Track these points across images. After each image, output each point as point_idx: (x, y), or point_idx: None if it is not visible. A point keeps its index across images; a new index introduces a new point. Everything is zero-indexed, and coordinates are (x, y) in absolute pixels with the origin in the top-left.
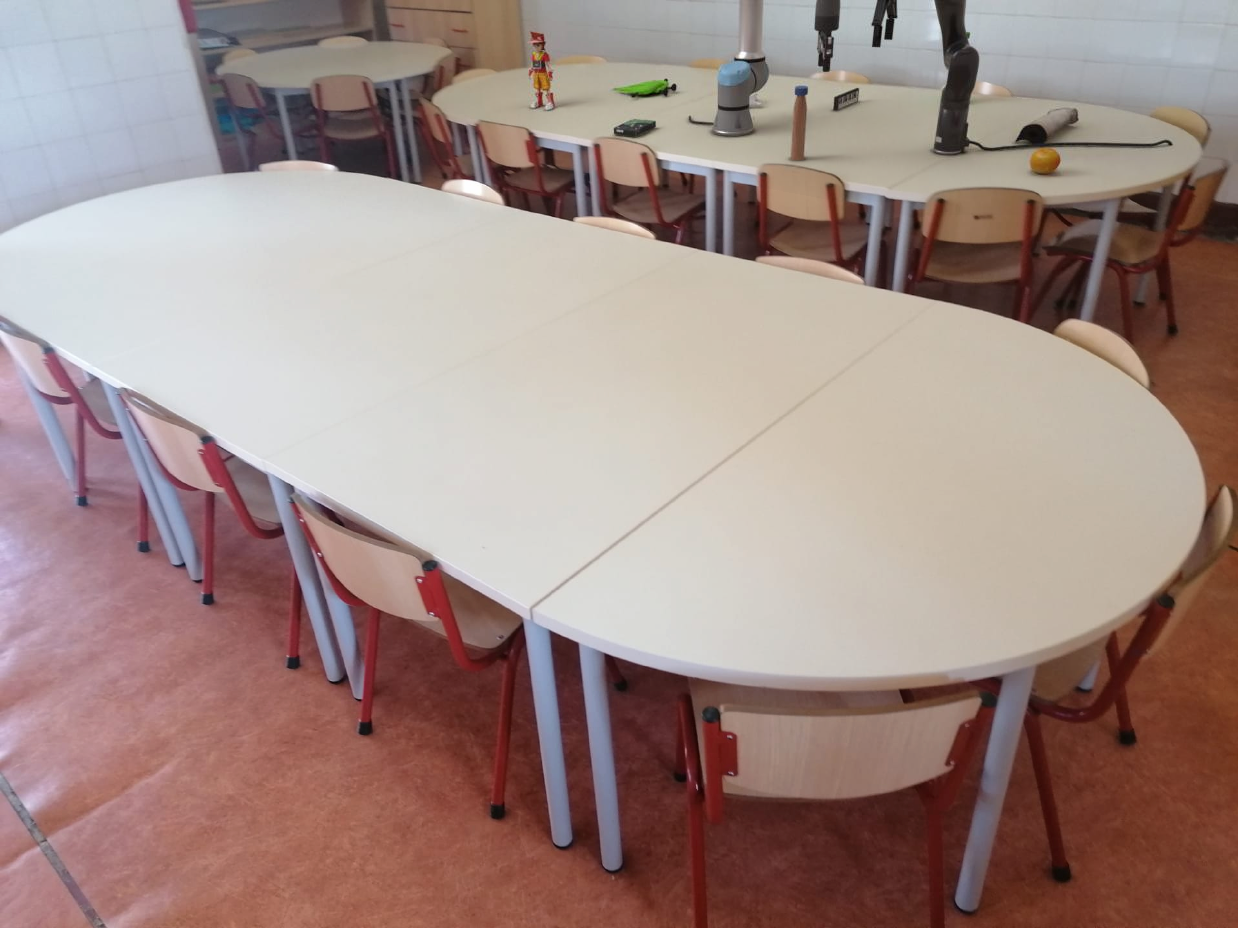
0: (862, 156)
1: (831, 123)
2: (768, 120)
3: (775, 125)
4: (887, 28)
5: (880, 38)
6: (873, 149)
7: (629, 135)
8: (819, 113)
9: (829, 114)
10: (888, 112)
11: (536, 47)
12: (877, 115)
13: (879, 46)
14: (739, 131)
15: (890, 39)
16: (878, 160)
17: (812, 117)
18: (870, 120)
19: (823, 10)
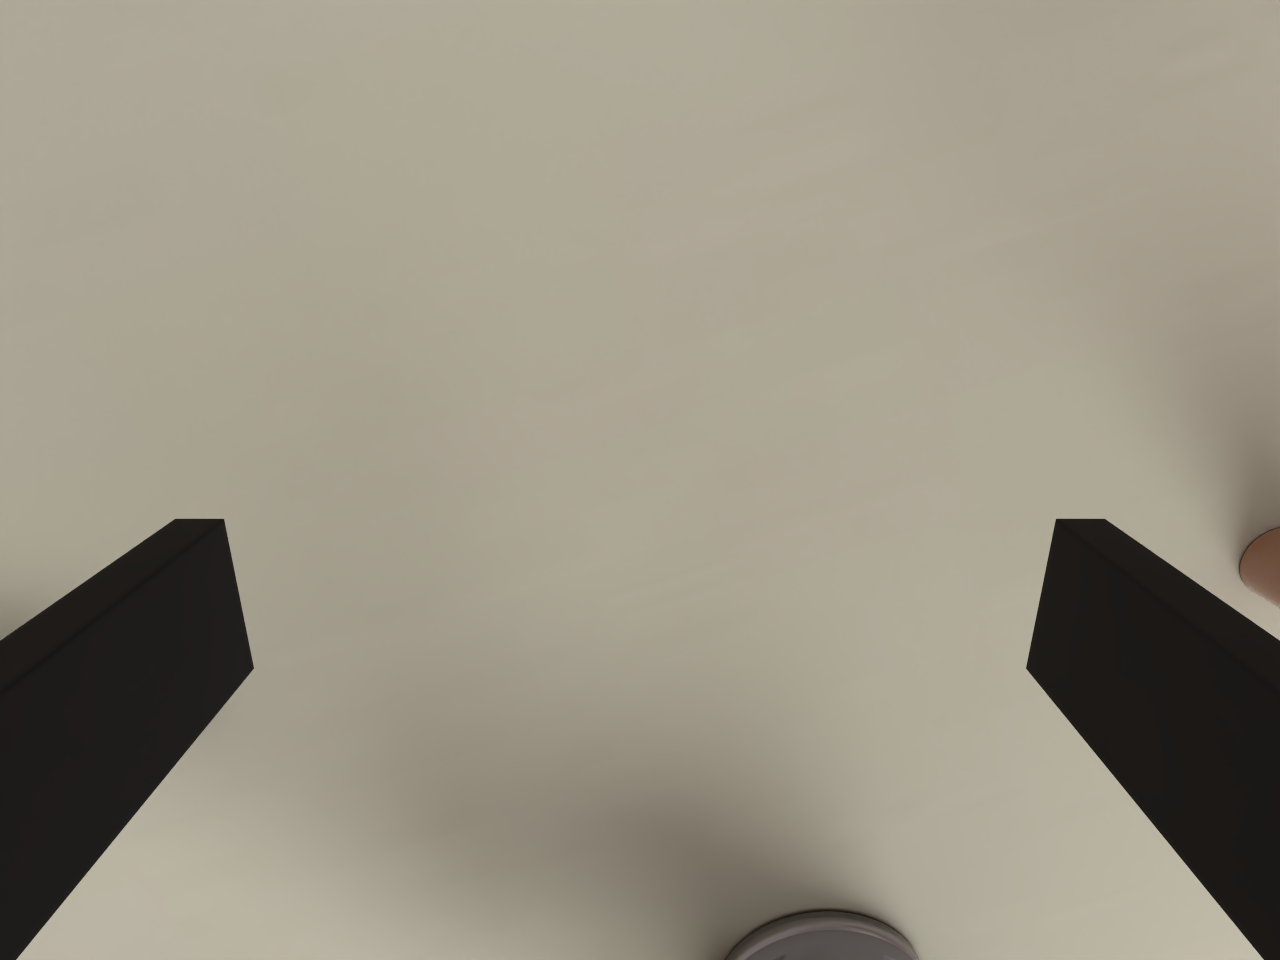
0: (1182, 214)
1: (484, 628)
2: (556, 922)
3: (639, 864)
4: (94, 789)
5: (1234, 618)
6: (1003, 195)
7: None
8: (300, 754)
9: (294, 700)
10: (55, 387)
11: None
12: (169, 432)
13: (1109, 538)
14: (908, 957)
15: (219, 552)
16: (1267, 75)
17: (402, 759)
18: (312, 436)
19: None
